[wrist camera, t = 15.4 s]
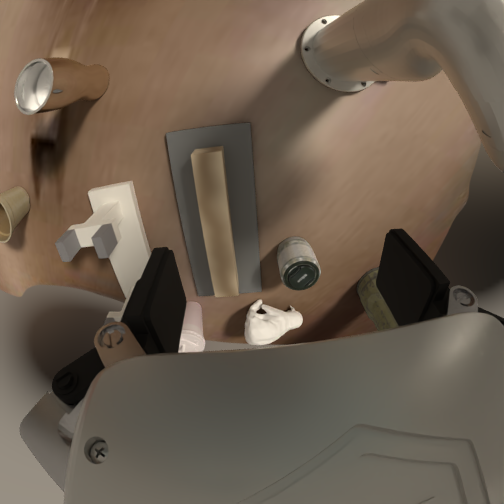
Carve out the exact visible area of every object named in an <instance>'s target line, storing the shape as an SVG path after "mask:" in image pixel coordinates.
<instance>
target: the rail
mask: <svg viewBox="0 0 504 504" xmlns="http://www.w3.org/2000/svg"><path fill="white" fill-rule="evenodd" d="M191 160H192V167H193V174H194V181H195V187H196V194H197V200H198V206H199V212H200V218H201V224H202V230H203V236H204V241H205V247H206V252H207V258H208V263H209V268H210V273H211V278H212V283H213V288H214V293H215V297H228V296H239V281H238V273H237V265H236V257H235V248H234V240H233V231H232V223H231V214H230V205H229V196H228V187H227V178H226V168H225V159H224V149H223V146H218V147H209V148H201V149H195V150H194V152H193V153H192V154H191Z"/></svg>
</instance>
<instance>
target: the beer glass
mask: <svg viewBox="0 0 504 504" xmlns="http://www.w3.org/2000/svg"><path fill="white" fill-rule="evenodd" d="M109 79H110V78H109V73H108V70H107V69H106V68H105V67H104V66H102V65H99V64H93V65H89V66H86V65H83V64H81V63H79V62H77V61H74V60H71V59H68V58H43V59H41V58H39V59H35V60H33V61H31V62H29V63H28V64H27V65H26V66H25V67H24V68H23V70H22V71H21V73H20V74H19V76H18V79H17V82H16V85H15V92H14V97H15V103H16V106H17V108H18V109H19V110H20V111H21V112H22V113H23V114H26V115H31V114H36V113H44V112H50V111H54V110H58V109H61V108H63V107H66V106H68V105H70V104H72V103H74V102H76V101H79V100H84V101H93V100H96V99H98V98H100V97H101V96H102V95H103V94H104V93H105V91H106V90H107V88H108V85H109Z"/></svg>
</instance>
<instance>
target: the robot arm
mask: <svg viewBox="0 0 504 504" xmlns="http://www.w3.org/2000/svg"><path fill="white" fill-rule="evenodd" d="M321 22H323V23H324V24H322V23H321ZM300 47H301V55H302V59H303V61H304V64H305V66H306V68H307V69H308V71H309V72H310V73H311V74H312V75H313V76H314V78H315V79H317V80H318V81H319V82H320V83H322V84H323V85H325V86H327V87H329V88H331V89H334V90H337V91H343V92H356V91H360V90H363V89H366V88H367V87H369V86H371V85H372V84H373V83H374V82H375V81H413V82H416V81H424V80H428V79H431V78H433V77H434V76H436V75H437V74H438V73H440V72H441V71H442V69H443V71H444V72H445V74H446V75H447V77H448V78H449V80H450V82H451V83H452V85H453V87H454V88H455V90H456V91H457V92H458V94H459V96H460V98H461V100H462V101H463V103H464V105H465V107H466V109H467V111H468V113H469V115H470V117H471V119H472V122H473V124H474V126H475V128H476V130H477V133H478V134H479V137H480V139H481V141H482V143H483V146H484V148H485V150H486V152H487V154H488V155H489V157H490V159H491V160H492V162H493V163H494V164H495V165H496V166H497V167H498V168H499V169H500V170H501V171H502V172H503V173H504V0H365V1H363V2H362V3H360V4H358V5H357V6H355V7H354V8H352V9H350V10H349V11H347V12H346V13H344V14H343V15H341V16H340V15H330V16H325V17H322V18H319V19H317V20H315V21H314V22H312V23H311V24H310V25H309V26H308V27H307V29H306V30H305V31H304V33H303V36H302V39H301V44H300ZM305 48H307V49H308V51H305ZM326 79H327V80H328V82H326V81H325V80H326ZM361 83H362V85H361ZM449 284H450V281H449V280H448V279H447V277H446V276H445V275H444V274H443V273H442V271H441V270H440V269H439V268H438V267H437V266H436V265H435V263H434V262H433V261H432V260H431V259H430V258H429V256H428V255H427V254H426V253H425V252H424V251H423V250H422V249H421V248H420V247H419V245H418V244H417V243H416V242H415V241H414V240H413V239H412V238H411V237H410V236H409V235H408V234H407V233H406V232H405V231H404V230H403V229H391V230H390V231H389V233H387V234H386V237H385V242H384V247H383V252H382V257H381V261H380V266H379V270H378V274H377V278H376V286H377V289H378V290H379V292H380V294H381V295H382V297H383V299H384V301H385V302H386V304H387V306H388V308H389V310H390V311H391V313H392V315H393V317H394V319H395V321H396V322H397V324H398V326H399V327H395V328H390V329H386V330H381V331H376V332H370V333H365V334H359V335H354V336H348V337H342V338H336V339H329V340H322V341H315V342H308V343H300V344H292V345H283V346H274V347H264V348H252V349H239V350H224V351H223V350H222V351H203V352H180V353H178V350H179V344H180V338H181V332H182V327H183V321H184V316H185V310H186V297H185V293H184V290H183V287H182V283H181V279H180V276H179V272H178V268H177V265H176V261H175V257H174V253H173V251H172V250H169V249H168V248H167V247H162V248H154V249H153V251H152V253H151V256H150V258H149V260H148V262H147V264H146V267H145V269H144V271H143V274H142V276H141V278H140V279H139V280H138V281H137V282H136V284H135V286H134V289H133V291H132V293H131V296H130V298H129V301H128V303H127V305H126V308H125V310H124V313H123V315H122V318H121V321H120V322H110V323H108V324H106V325H104V326H103V327H101V328H100V329H99V330H98V331H97V333H96V335H95V338H94V344H95V348H94V349H92V350H91V351H89V352H87V353H86V354H84V355H83V356H81V357H80V358H78V359H77V360H75V361H74V362H72V363H71V364H69V365H67V366H66V367H64V368H63V369H62V370H60V371H59V372H58V373H57V374H56V375H55V377H54V379H53V382H52V389H53V391H52V392H51V393H49V392H46V394H45V395H44V396H43V397H42V398H41V399H40V400H39V401H38V402H37V404H36V405H35V406H34V407H33V408H32V409H31V411H30V412H29V413H28V414H27V415H26V416H25V418H24V419H23V420H22V422H21V424H20V435H21V437H22V439H23V440H24V442H25V443H26V445H27V446H28V448H29V449H30V451H31V452H32V453H33V455H34V456H35V458H36V459H37V460H38V461H39V463H40V464H41V465H42V467H43V468H44V469H45V470H46V472H47V473H48V474H49V475H50V477H51V478H52V479H53V480H54V481H55V482H56V484H57V485H58V486H59V487H60V488H61V489H62V490H63V491H64V504H504V318H502V317H500V316H497V315H495V314H493V313H491V312H488V311H486V310H484V309H482V308H479V307H478V301H477V298H476V296H475V294H474V293H473V292H472V291H471V290H469V289H468V288H465V287H462V286H454V287H452V288H451V290H450V289H449V288H448V286H449Z"/></svg>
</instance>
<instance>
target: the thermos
mask: <svg viewBox="0 0 504 504" xmlns="http://www.w3.org/2000/svg"><path fill="white" fill-rule="evenodd" d="M378 270H379V267H377V268H374V269H371V270H370V271H368V272H366V273H365V274H364V275H363V276H362V277H361V279H360V280H359V282H358V285H357V293H358V295H359V297H360V301H361V303H362V305H363V307H364V309H365V311H366V313H367V315H368V317H369V318H370V319H371V320H372V321H373V322H374V323H375V326H376V328H377V330H378V331H381V330H386V329H390V328H395V327H399V326H398V324H397V322H396V321H395V319H394V317H393V315H392V313H391V311H390V310H389V308H388V306H387V304H386V302H385V301H384V299H383V297H382V295H381V294H380V292H379V290H378V289H377V286H376V278H377V274H378Z"/></svg>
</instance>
